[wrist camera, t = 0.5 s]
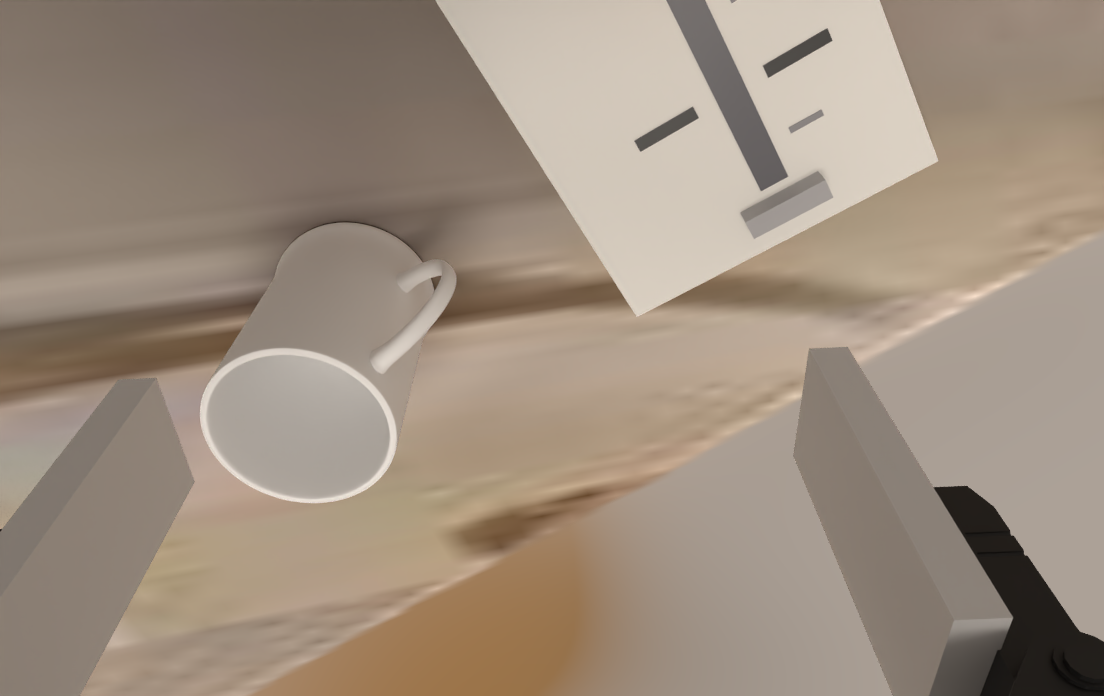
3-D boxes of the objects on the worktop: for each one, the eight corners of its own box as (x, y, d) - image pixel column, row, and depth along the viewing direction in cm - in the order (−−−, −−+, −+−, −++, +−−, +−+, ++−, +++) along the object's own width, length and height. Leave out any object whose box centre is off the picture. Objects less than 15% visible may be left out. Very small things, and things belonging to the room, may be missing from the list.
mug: (425, 159, 40) (384, 267, 29) (516, 292, 44) (508, 428, 33) (241, 269, 43) (147, 401, 32) (342, 384, 47) (286, 534, 36)
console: (384, -97, 34) (370, -92, 31) (733, -356, 30) (752, -377, 27) (633, 298, 44) (639, 328, 41) (921, 147, 40) (949, 169, 37)
